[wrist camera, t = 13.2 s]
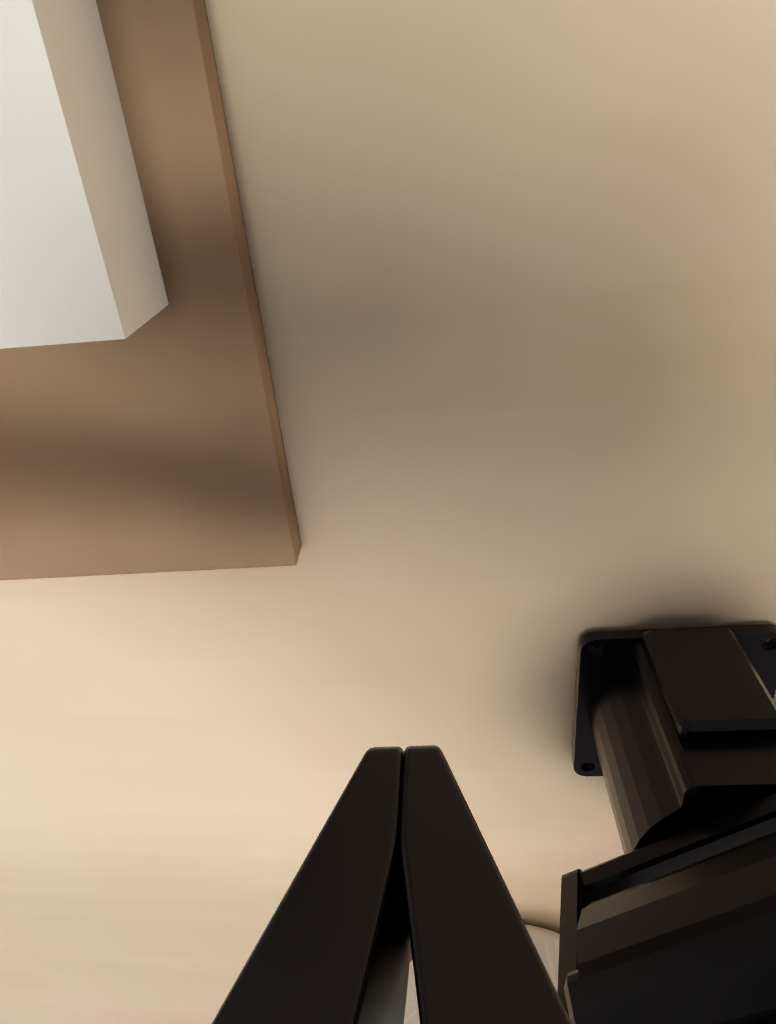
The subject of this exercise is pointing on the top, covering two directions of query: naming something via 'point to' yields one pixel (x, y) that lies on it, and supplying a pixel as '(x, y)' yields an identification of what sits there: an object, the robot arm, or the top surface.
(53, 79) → the socket
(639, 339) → the top surface
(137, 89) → the walnut board
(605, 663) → the robot arm
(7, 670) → the top surface
